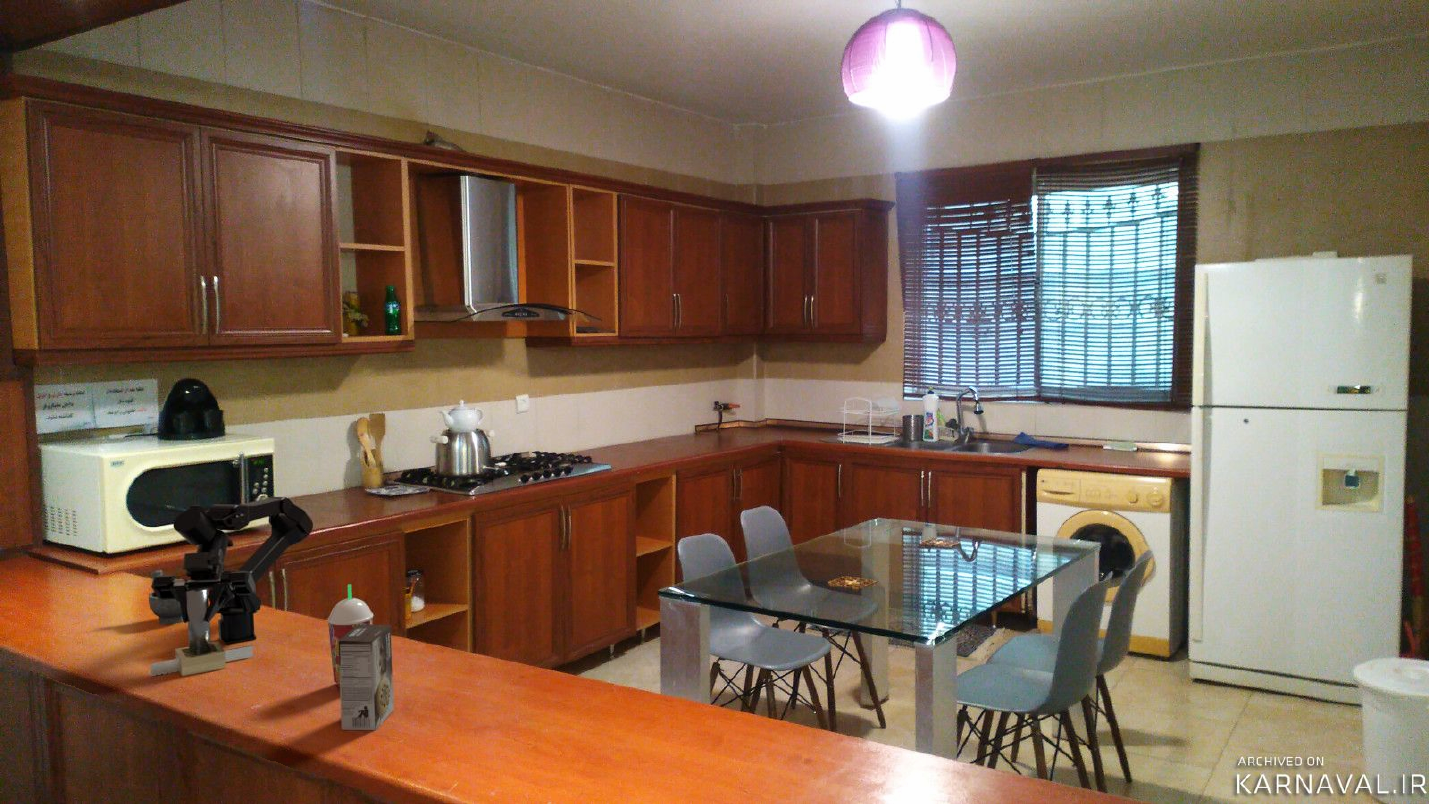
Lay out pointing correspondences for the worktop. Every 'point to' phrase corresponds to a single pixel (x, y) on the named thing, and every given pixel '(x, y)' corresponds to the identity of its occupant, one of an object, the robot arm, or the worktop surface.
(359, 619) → the smoothie
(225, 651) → the bracket
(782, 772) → the worktop surface
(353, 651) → the coffee box
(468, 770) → the worktop surface
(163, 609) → the mortar and pestle
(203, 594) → the hinge pin
